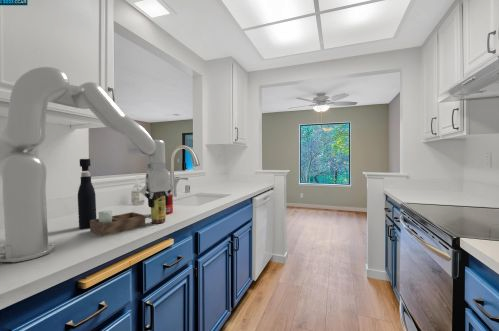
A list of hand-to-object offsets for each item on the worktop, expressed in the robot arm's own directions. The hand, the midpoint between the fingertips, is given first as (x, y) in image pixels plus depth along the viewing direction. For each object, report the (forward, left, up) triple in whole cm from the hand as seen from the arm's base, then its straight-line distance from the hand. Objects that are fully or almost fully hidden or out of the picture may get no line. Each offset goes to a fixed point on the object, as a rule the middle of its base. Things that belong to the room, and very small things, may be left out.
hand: (158, 205), depth 106 cm
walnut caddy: (-15, +6, -8) cm, 18 cm away
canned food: (+12, +14, -8) cm, 20 cm away
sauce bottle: (0, 0, -8) cm, 8 cm away
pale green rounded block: (-20, +6, -8) cm, 22 cm away
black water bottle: (-22, +20, -8) cm, 31 cm away
